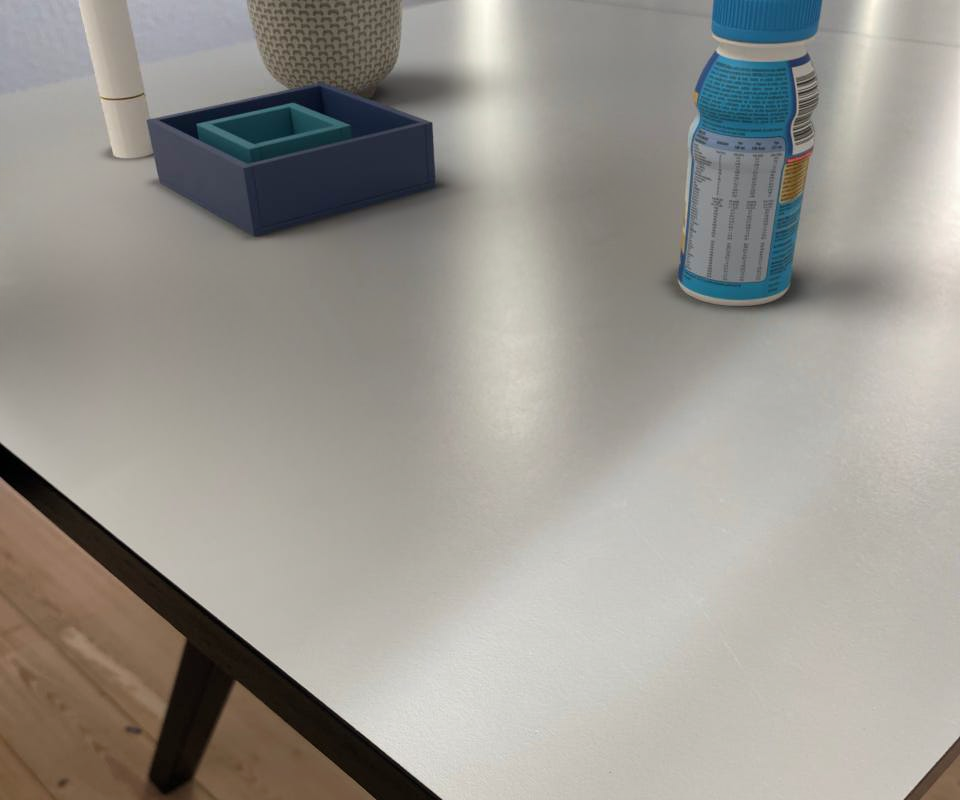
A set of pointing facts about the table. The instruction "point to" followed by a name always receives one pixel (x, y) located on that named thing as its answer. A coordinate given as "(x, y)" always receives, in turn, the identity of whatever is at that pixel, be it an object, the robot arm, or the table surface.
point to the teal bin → (272, 132)
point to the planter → (328, 41)
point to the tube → (118, 76)
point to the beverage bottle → (749, 152)
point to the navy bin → (297, 162)
